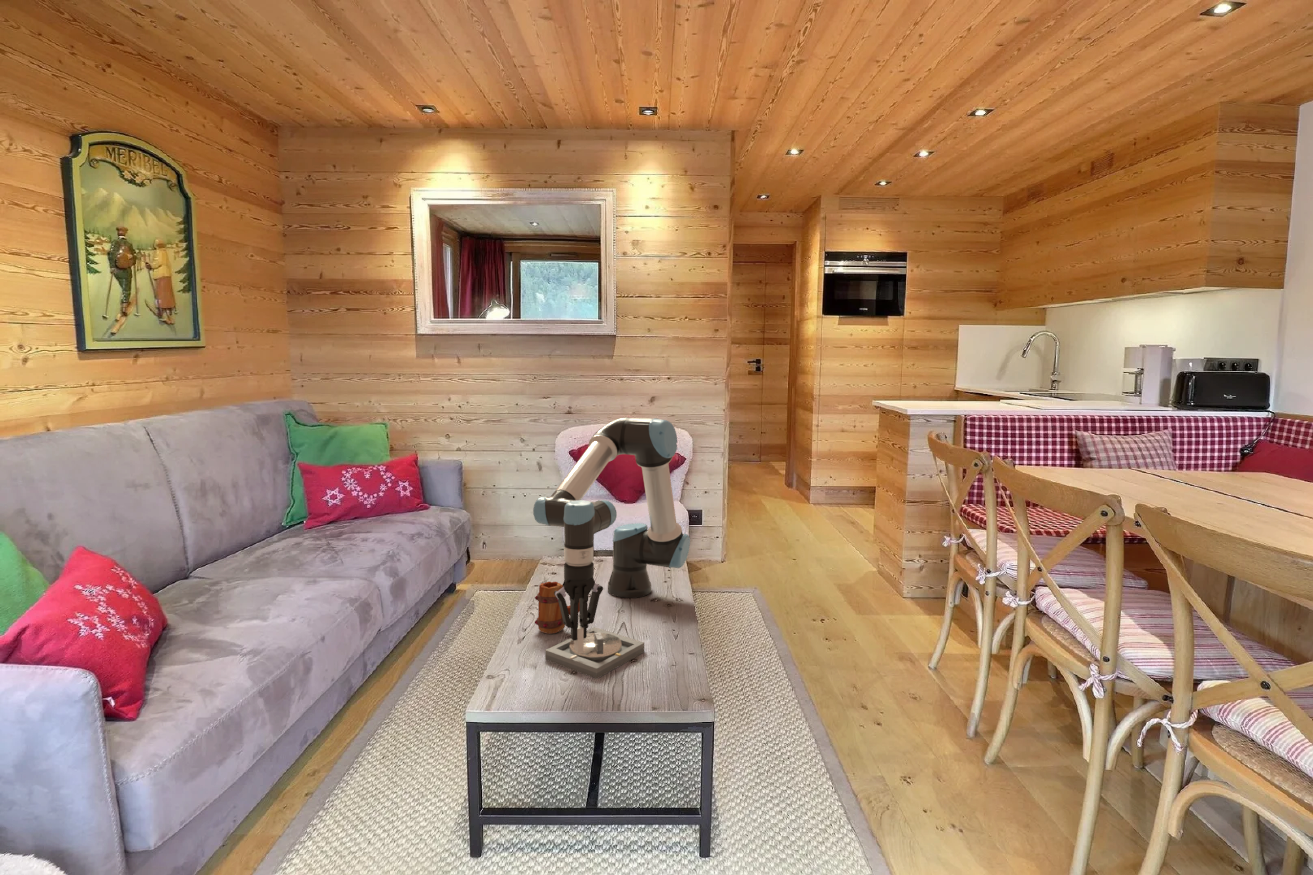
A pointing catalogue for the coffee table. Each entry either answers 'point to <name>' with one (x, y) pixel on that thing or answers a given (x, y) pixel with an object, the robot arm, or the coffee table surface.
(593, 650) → the dial
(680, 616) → the coffee table surface
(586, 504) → the robot arm
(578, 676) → the coffee table surface
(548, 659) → the board
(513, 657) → the coffee table surface
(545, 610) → the mug
